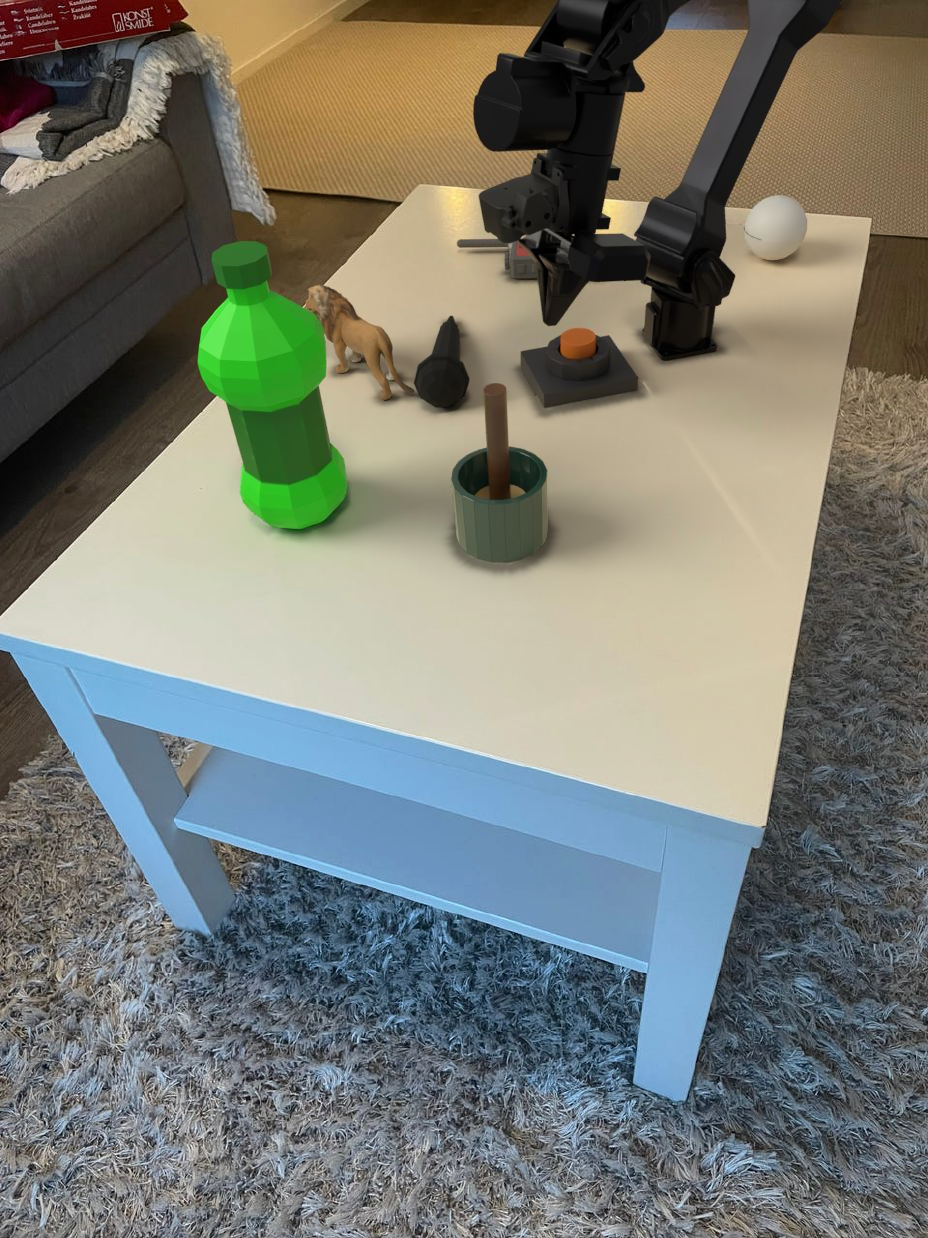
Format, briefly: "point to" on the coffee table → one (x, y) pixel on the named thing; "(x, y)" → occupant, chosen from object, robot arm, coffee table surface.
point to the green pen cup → (500, 508)
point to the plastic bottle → (272, 392)
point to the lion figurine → (353, 336)
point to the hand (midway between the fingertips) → (549, 324)
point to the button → (578, 343)
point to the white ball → (775, 227)
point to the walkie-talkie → (507, 256)
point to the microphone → (443, 370)
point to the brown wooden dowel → (497, 445)
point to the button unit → (577, 373)
